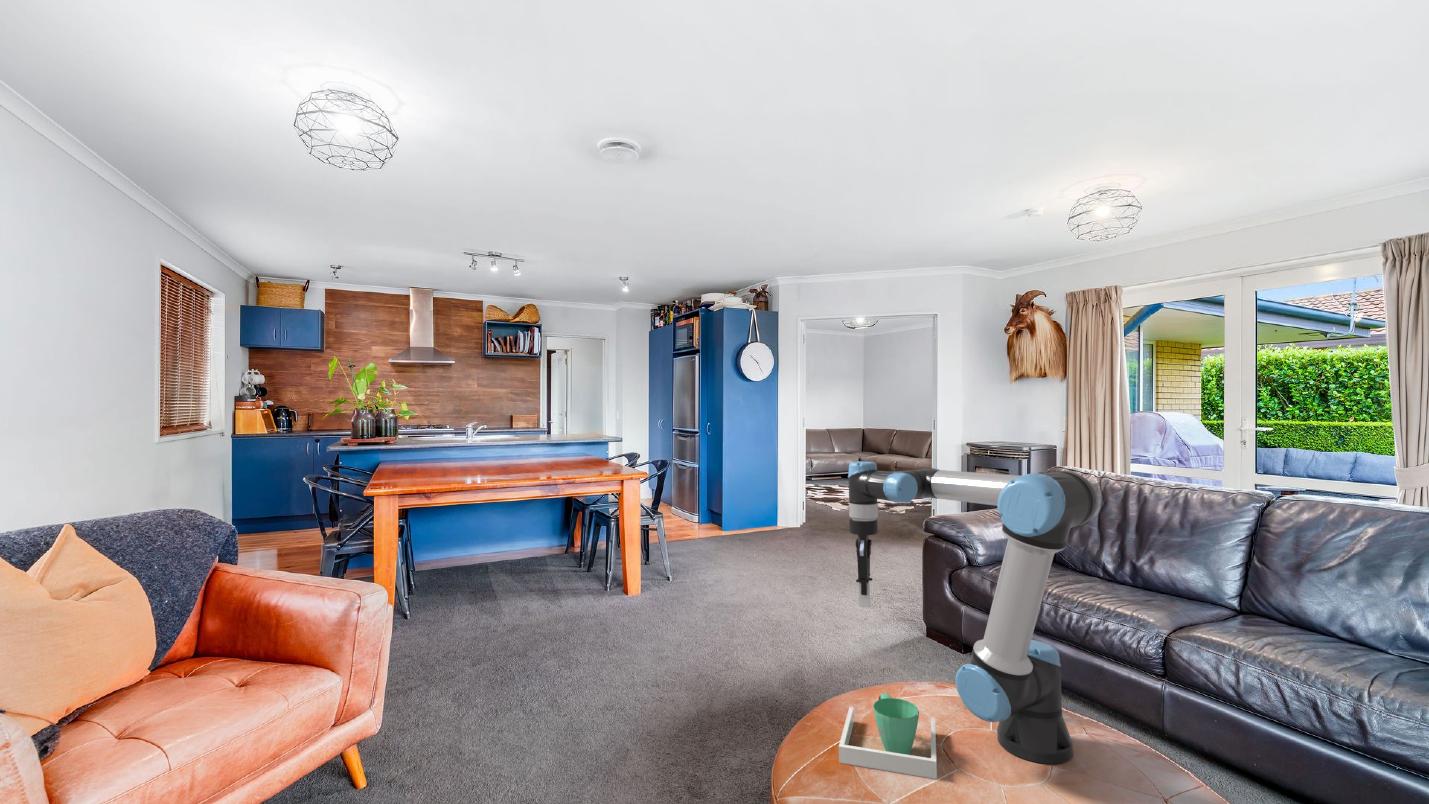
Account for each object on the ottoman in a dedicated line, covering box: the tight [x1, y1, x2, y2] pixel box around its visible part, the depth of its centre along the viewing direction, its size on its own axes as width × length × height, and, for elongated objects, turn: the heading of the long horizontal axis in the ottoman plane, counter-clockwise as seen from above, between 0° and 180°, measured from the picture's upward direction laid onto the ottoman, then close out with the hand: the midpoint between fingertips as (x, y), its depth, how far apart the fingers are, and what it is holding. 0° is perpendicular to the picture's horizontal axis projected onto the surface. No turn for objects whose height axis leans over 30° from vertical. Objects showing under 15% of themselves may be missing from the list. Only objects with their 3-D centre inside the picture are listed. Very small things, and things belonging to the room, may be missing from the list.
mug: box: [872, 692, 920, 755], centre depth 135 cm, size 15×10×10 cm
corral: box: [838, 706, 938, 780], centre depth 135 cm, size 20×19×4 cm
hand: (864, 605), depth 160 cm, fingers closed
